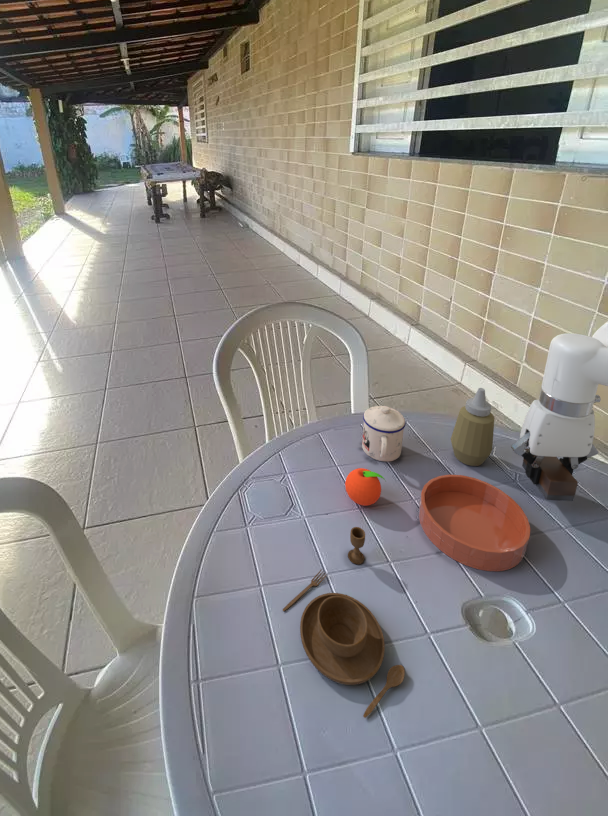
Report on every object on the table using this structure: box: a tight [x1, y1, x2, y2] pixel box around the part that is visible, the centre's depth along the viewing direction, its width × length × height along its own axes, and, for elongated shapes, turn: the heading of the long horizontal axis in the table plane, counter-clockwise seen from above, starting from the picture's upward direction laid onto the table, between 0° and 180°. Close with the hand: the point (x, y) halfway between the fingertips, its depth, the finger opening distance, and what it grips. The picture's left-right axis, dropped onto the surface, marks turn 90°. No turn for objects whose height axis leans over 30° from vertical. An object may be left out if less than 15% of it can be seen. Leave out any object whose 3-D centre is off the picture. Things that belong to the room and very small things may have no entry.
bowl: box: [418, 474, 531, 572], centre depth 78 cm, size 17×17×4 cm
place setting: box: [282, 526, 406, 719], centre depth 64 cm, size 18×20×6 cm
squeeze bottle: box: [450, 387, 495, 467], centre depth 92 cm, size 8×8×18 cm
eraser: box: [521, 448, 579, 502], centre depth 82 cm, size 4×9×4 cm, turn 172°
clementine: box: [344, 467, 386, 507], centre depth 85 cm, size 8×7×7 cm
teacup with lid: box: [361, 405, 407, 462], centre depth 96 cm, size 12×9×12 cm
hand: (546, 479), depth 83 cm, fingers closed on eraser, 4 cm apart
